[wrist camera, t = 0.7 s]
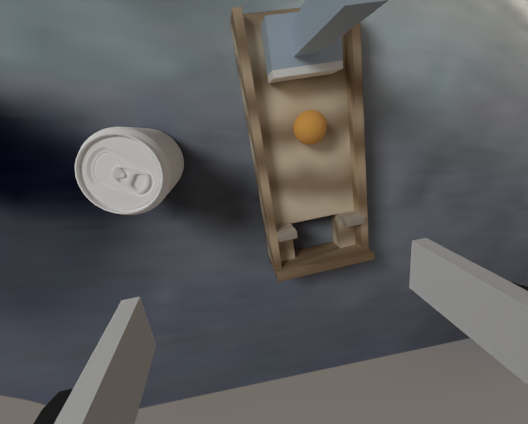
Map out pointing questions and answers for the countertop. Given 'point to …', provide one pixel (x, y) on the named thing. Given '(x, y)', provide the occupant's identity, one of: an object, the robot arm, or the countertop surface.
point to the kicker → (311, 37)
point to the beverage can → (128, 169)
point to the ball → (310, 127)
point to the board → (306, 153)
